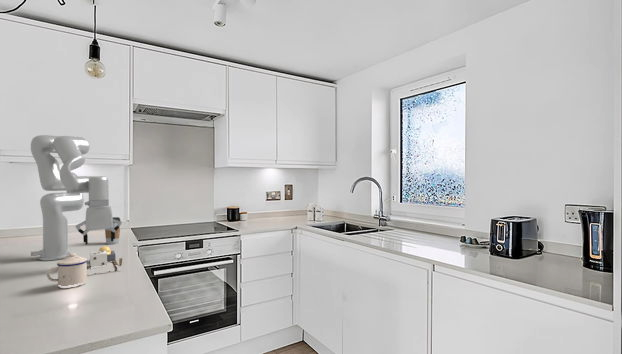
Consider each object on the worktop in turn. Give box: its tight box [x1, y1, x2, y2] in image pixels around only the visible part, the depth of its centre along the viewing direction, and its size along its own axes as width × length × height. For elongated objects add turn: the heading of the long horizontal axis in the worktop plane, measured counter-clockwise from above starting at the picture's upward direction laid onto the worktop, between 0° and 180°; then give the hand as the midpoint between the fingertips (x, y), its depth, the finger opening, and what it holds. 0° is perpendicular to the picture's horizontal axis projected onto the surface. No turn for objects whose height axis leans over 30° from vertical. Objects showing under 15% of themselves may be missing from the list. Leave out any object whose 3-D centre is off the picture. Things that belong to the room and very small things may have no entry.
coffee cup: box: [104, 216, 122, 245], centre depth 194 cm, size 8×8×15 cm
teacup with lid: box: [46, 252, 88, 286], centre depth 121 cm, size 12×9×12 cm
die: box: [89, 250, 108, 268], centre depth 147 cm, size 6×6×6 cm
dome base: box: [107, 250, 116, 261], centre depth 156 cm, size 8×8×3 cm
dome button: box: [98, 245, 112, 254], centre depth 156 cm, size 5×5×6 cm
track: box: [112, 257, 123, 266], centre depth 143 cm, size 17×19×3 cm
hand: (99, 242), depth 147 cm, fingers open, 9 cm apart
